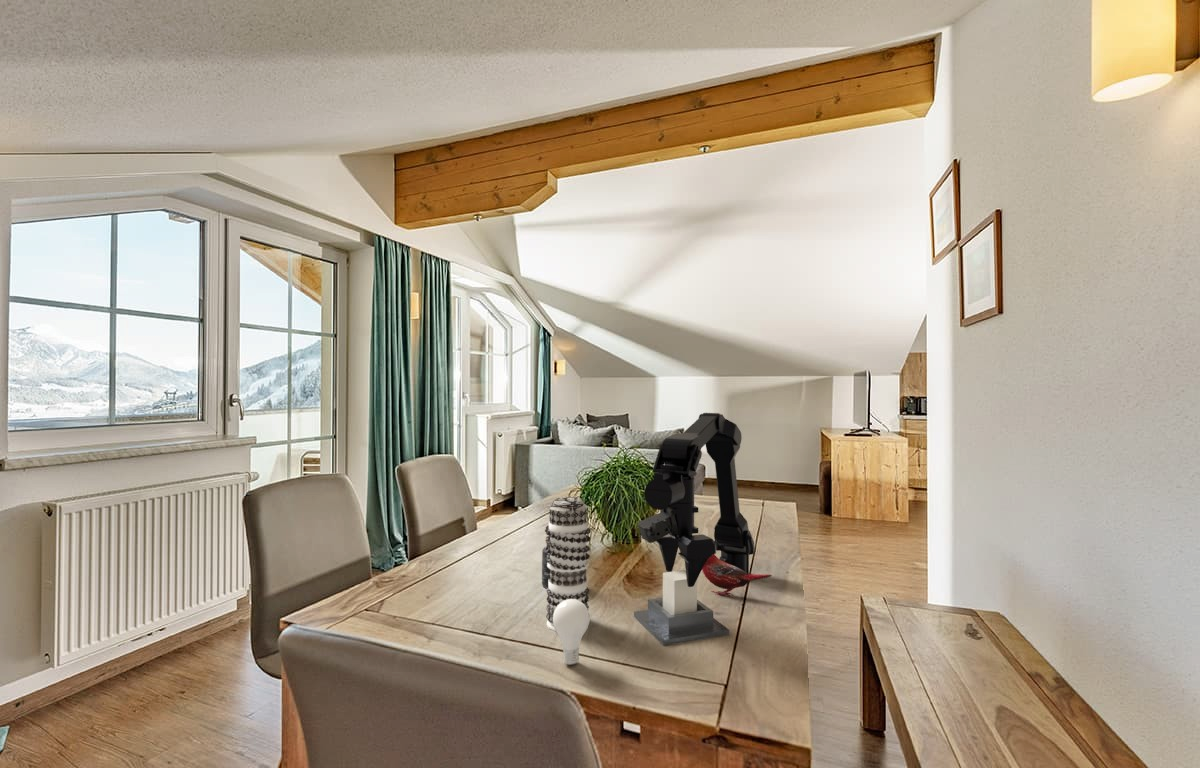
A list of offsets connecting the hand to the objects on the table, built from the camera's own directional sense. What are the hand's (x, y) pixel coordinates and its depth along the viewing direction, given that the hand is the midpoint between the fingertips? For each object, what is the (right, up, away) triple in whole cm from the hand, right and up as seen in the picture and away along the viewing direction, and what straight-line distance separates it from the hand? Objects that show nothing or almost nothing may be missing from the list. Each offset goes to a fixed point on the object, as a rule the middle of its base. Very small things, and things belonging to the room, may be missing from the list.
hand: (679, 578), depth 112 cm
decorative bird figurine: (+14, -10, +16) cm, 23 cm away
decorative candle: (-22, -9, +1) cm, 24 cm away
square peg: (0, -8, 0) cm, 8 cm away
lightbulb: (-21, -9, -16) cm, 28 cm away
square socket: (0, -9, 0) cm, 9 cm away
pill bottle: (-27, -10, +22) cm, 36 cm away
